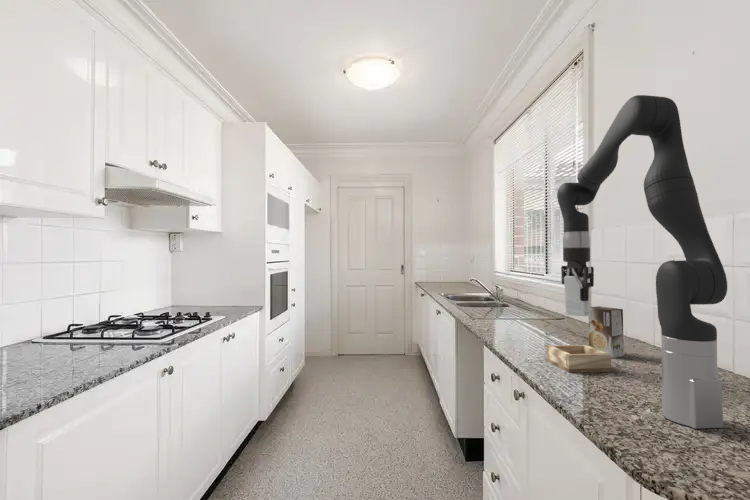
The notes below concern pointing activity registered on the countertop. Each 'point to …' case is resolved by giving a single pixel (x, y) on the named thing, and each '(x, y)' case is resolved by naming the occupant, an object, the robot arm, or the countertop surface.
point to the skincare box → (575, 298)
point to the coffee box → (606, 330)
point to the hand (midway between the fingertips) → (577, 299)
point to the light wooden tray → (579, 358)
